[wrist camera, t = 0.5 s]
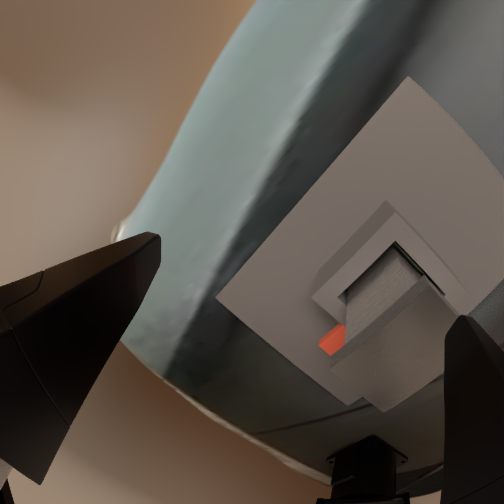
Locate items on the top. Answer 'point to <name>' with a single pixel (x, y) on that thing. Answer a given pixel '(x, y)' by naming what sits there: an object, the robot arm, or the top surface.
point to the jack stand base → (376, 232)
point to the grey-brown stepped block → (393, 331)
